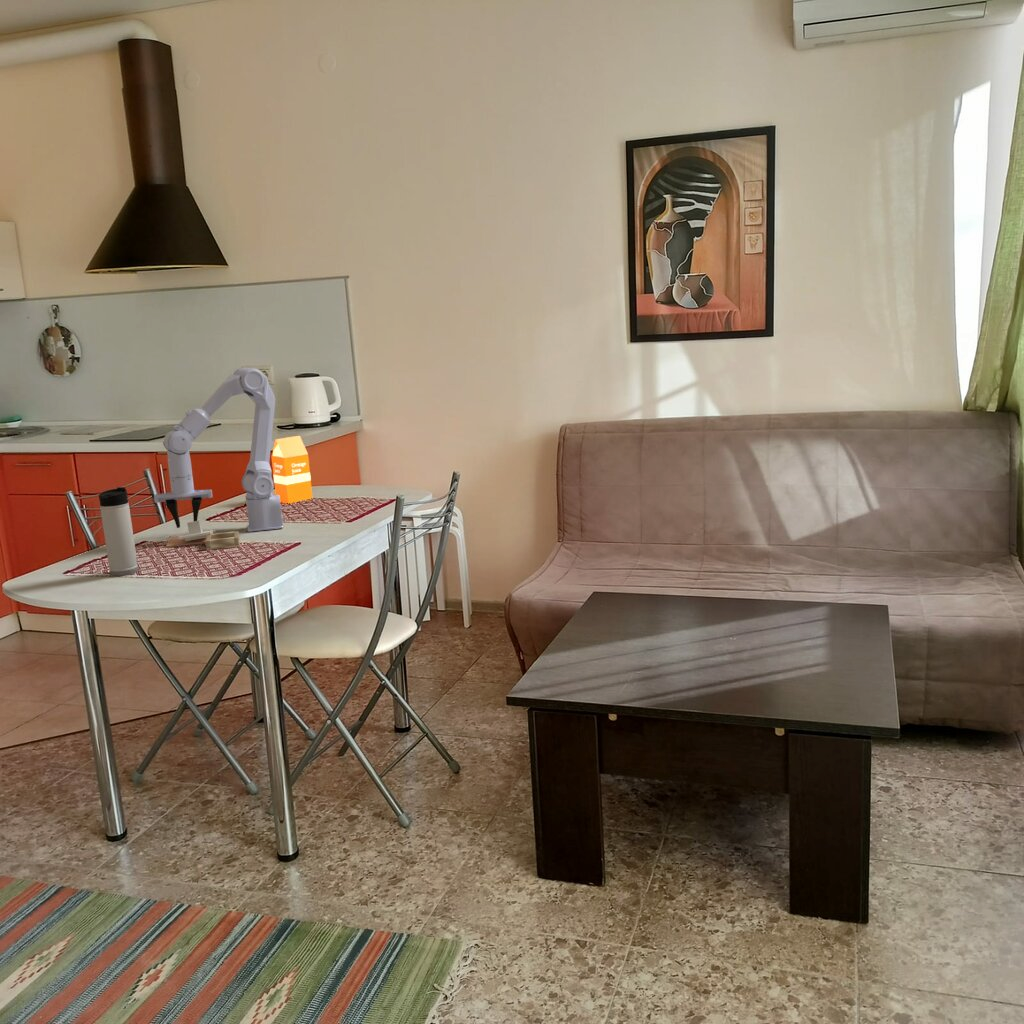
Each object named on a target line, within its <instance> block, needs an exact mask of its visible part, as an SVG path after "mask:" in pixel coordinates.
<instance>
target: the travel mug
mask: <svg viewBox="0 0 1024 1024" xmlns="http://www.w3.org/2000/svg"><path fill="white" fill-rule="evenodd" d="M128 497H129V496H128V492H127V489H126V487H123V486H121V487H119V486H118V487H116V488H113V489H112V488H111V489H108V490H105V491H104V490H103V491H102V492H100V493H99V494H98V500H99V506H100V507H99V508H100V516H101V521H102V528H103V529H102V530H103V534H104V541H105V548H106V554H107V555H106V556H107V562H108V567H109V569H108V570H109V574H110V576H112V575H113V577H123V576H128V575H132V574H133V575H134V574H135V573H137V572H138V571H139V565H138V557H137V552H136V551H137V550H136V545H135V538H134V532H133V531H134V530H133V523H132V518H131V517H132V515H131V510H130V504H129V499H128Z"/></svg>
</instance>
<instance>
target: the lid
mask: <svg viewBox="0 0 1024 1024" xmlns="http://www.w3.org/2000/svg"><path fill="white" fill-rule="evenodd" d="M186 525H187V530H188V533H187V534H186V533H185V534H181V535H179V536H180V537H178V538H179V539H185V541H190V540H196V539H202V538H206V537H207V535H209V534H211V533H212V534H214V530H213V529H210V530H205V531H204V530H203V528H202V523H201V520H197V521H194V520H193V521H188V522H186Z"/></svg>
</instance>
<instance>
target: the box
mask: <svg viewBox="0 0 1024 1024" xmlns="http://www.w3.org/2000/svg"><path fill="white" fill-rule="evenodd" d="M239 533H240V532H239V530H237V531H228V532H218V533H212V534H209V535H207V537H206V543H205V547H206V551H211V550H212V551H213V550H221V549H229V548H237V547H238V548H240V534H239Z"/></svg>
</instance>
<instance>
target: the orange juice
mask: <svg viewBox="0 0 1024 1024" xmlns="http://www.w3.org/2000/svg"><path fill="white" fill-rule="evenodd" d="M273 445H274V446H273V450H272V453H271V455H270V458H271V463H272V464H271V465H272V475H273V483H274V492H275V495H280V503H283V504H287V503H288V504H289V503H290V504H294V503H293V502H295V503H298V501H300V502H303V501H302V500H305V501H308V500H307V499H310V500H312V499H311V498H313V491H312V489H313V488H312V477H311V471H310V459H309V453H308V451H307V449H306V447H305V444H304V443H303V440H302V437H301V435H298V436H297V435H295V436H289V437H283V438H277V439H275V441H274V444H273Z"/></svg>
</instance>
